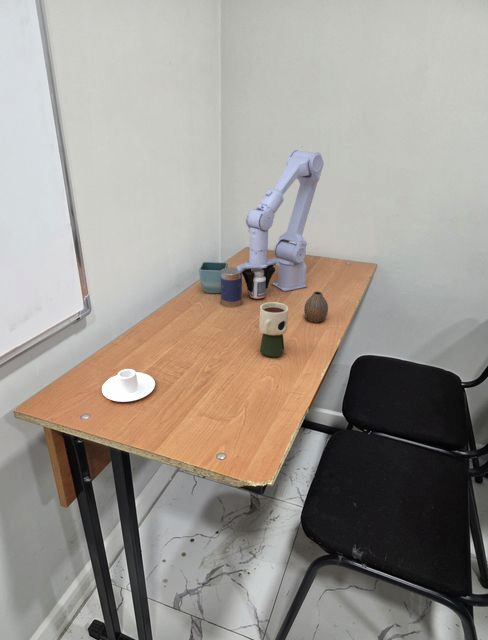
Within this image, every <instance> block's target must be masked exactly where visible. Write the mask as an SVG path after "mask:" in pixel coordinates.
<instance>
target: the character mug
mask: <svg viewBox="0 0 488 640" xmlns="http://www.w3.org/2000/svg"><path fill="white" fill-rule="evenodd" d="M288 320H289V307H288V305H287V304H285V303H282V302H279V301H278V302H277V301H268V302H264V303H262V304H260V306H259V321H258V325H259V326H258V327H259V328H258V329H259V332H261V333H262V336H261V341H260V346H259V347H260V348H259V351H260V353H261V354H263V355H266V356H268V357H272V358H277V357H281V356H283V353H284V351H285V344H284V343H285V342H284V334H286V333H287V331H288V327H289V326H288V322H289V321H288Z"/></svg>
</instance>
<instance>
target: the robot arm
mask: <svg viewBox="0 0 488 640" xmlns="http://www.w3.org/2000/svg"><path fill="white" fill-rule="evenodd" d="M285 163H286V167H285V168H284V171H283V172H282V174H281V175H280V177H279V179H278V181H277V182H276V184H275V186H274V188H271V189H268V190H267V191H266V192H265V194H264V195H263V197H262V199H261V200H260V201H259V203H258V204H257V206H256V207H255V208H253V209H251V210H250V211H249V212H248V213H247V216H246V219H245V224H246V226H247V228H248V229H247V231H248V234H249V251H248V252H249V255H248V256H249V258H248V259H249V260H248V261H245V262H242V263H240V264H237V265H236V268H237V270H239V271H242V277H243V279H244V281H245V284H246V290H247V291H248V292H249V293H250V292H252V290H253V279H254V275H255V274H254V273H253V272H252V270H253V269H263V270H264V275H263V276H265V278H266V290H267V289H268V288H269V284H270V281H271V279H272V277H273V275H274V274H275V272H276V266H277V281H276V282H275V281H274V282H272V286H274V287H276V288H278V289H279V290H281V291H283V292H288V291H293V290H298V289H304V288H307V285H306V279H307V264H306V263H305V261H304V260H305V258H306V252H307V251H306V250H307V245H308V242H307V241H306V240H305V238H304V236H303V233H304V230H305V228H306V223H307V220H308V217H309V213H310V211H311V207H312V203H313V199H314V196H315V192H316V189H317V186H318V182H319V181H320V177H321V175H322V171H323V168H324V165H325V163H324V159H323V156H322V153H320V152H319V151H318V152H317V151H305V150H298V149H294V150H292V151H291V152H290V154H289V156H288V157H287V158H286V162H285ZM296 180H298V182H299V187H298V191H297V193H296V197H295V201H294V205H293V208H292V211H291V215H290V219H289V222H288V226H287V229H286V231H285V232H284V233H282V234H281V235H279V236H278V240H277V242H276V244H275V245H274V249H273V255H274V258H268V253H269V250H268V249H269V248H268V247H269V246H268V244H269V229H270V228H272V226H273V223H274V220H275V219H274V218H275V216H276V215H275V214H276V213H277V211H278V210H279V208H280V207H281V206H282V204H283V203H284V195H285V193H286V192H287V191H288V190H289V188H290V187H291V186H292V185H293V184H294V182H295V181H296ZM274 266H275V267H274Z"/></svg>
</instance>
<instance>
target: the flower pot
mask: <svg viewBox="0 0 488 640" xmlns="http://www.w3.org/2000/svg"><path fill="white" fill-rule="evenodd" d="M228 264H229V263H228V262H219V261H217V262H216V261H215V262H214V261H203V262H201V265H200V267H199V269H198V274H199V280H200V284H201V287H202V289H203V291H204V292H205V293H206V294H221V270H222V269H224V268H229V267H228V266H229V265H228Z"/></svg>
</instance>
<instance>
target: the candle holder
mask: <svg viewBox="0 0 488 640" xmlns="http://www.w3.org/2000/svg"><path fill="white" fill-rule="evenodd" d="M155 387H156V382H155V379H154V378H153V377H152V376H151V375H149V374H147V373H145V372H138V371H136V370H135V369H132V368H123V369H122V370H120V371H118V372H117V374H116V375H114V376H110V377H109V378H108V379H107V380H106V381H105V382H104V383H103V384H102V386H101V393H102V395H103V396H104V397H105V398H106V399H108V400H111V401H114V402H119V403H120V402H121V403H126V402H127V403H128V402H133V401H137V400H140V399H143V398H145V397H147V396H148V395H150V394H151V393H152V392H153V390H155Z"/></svg>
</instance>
